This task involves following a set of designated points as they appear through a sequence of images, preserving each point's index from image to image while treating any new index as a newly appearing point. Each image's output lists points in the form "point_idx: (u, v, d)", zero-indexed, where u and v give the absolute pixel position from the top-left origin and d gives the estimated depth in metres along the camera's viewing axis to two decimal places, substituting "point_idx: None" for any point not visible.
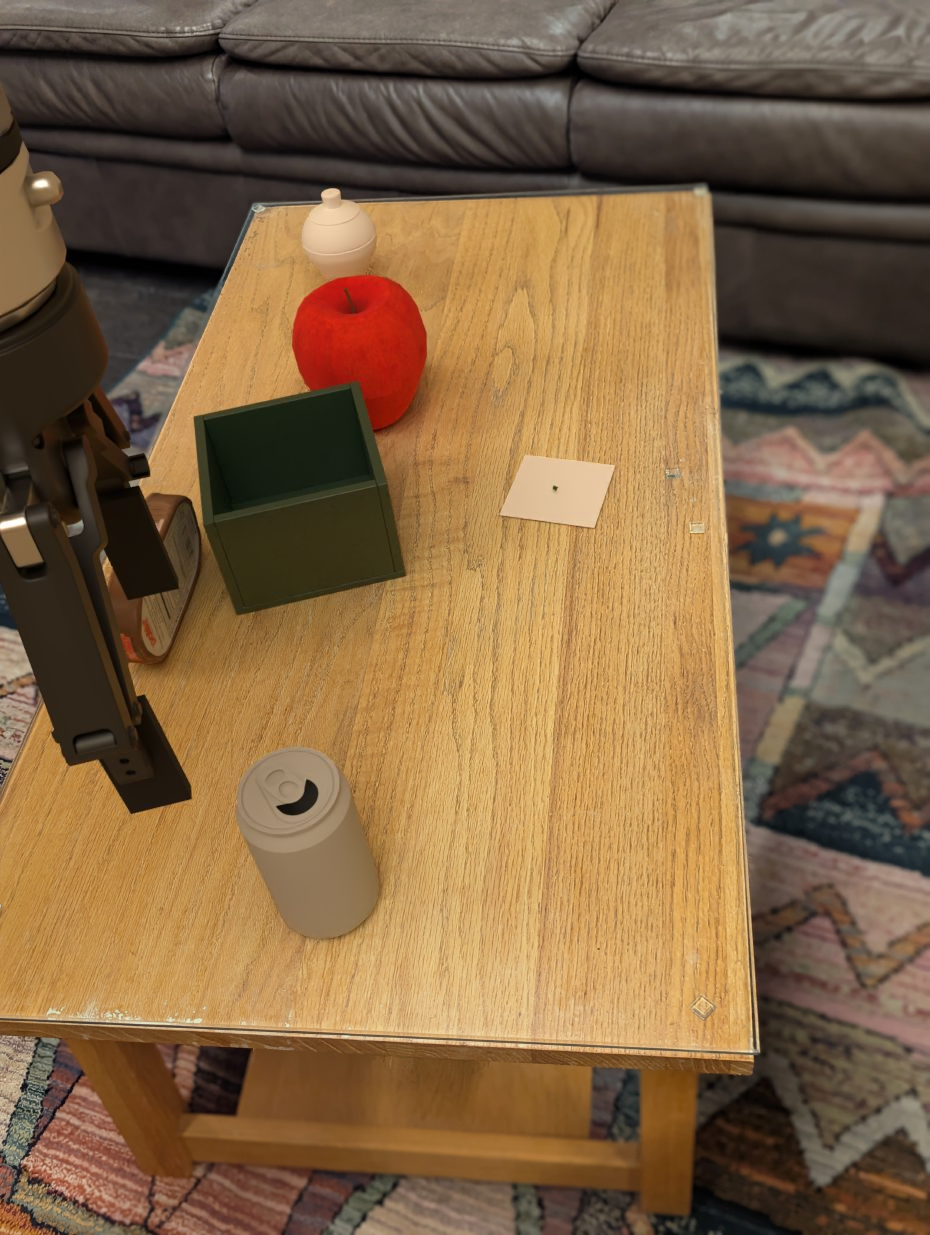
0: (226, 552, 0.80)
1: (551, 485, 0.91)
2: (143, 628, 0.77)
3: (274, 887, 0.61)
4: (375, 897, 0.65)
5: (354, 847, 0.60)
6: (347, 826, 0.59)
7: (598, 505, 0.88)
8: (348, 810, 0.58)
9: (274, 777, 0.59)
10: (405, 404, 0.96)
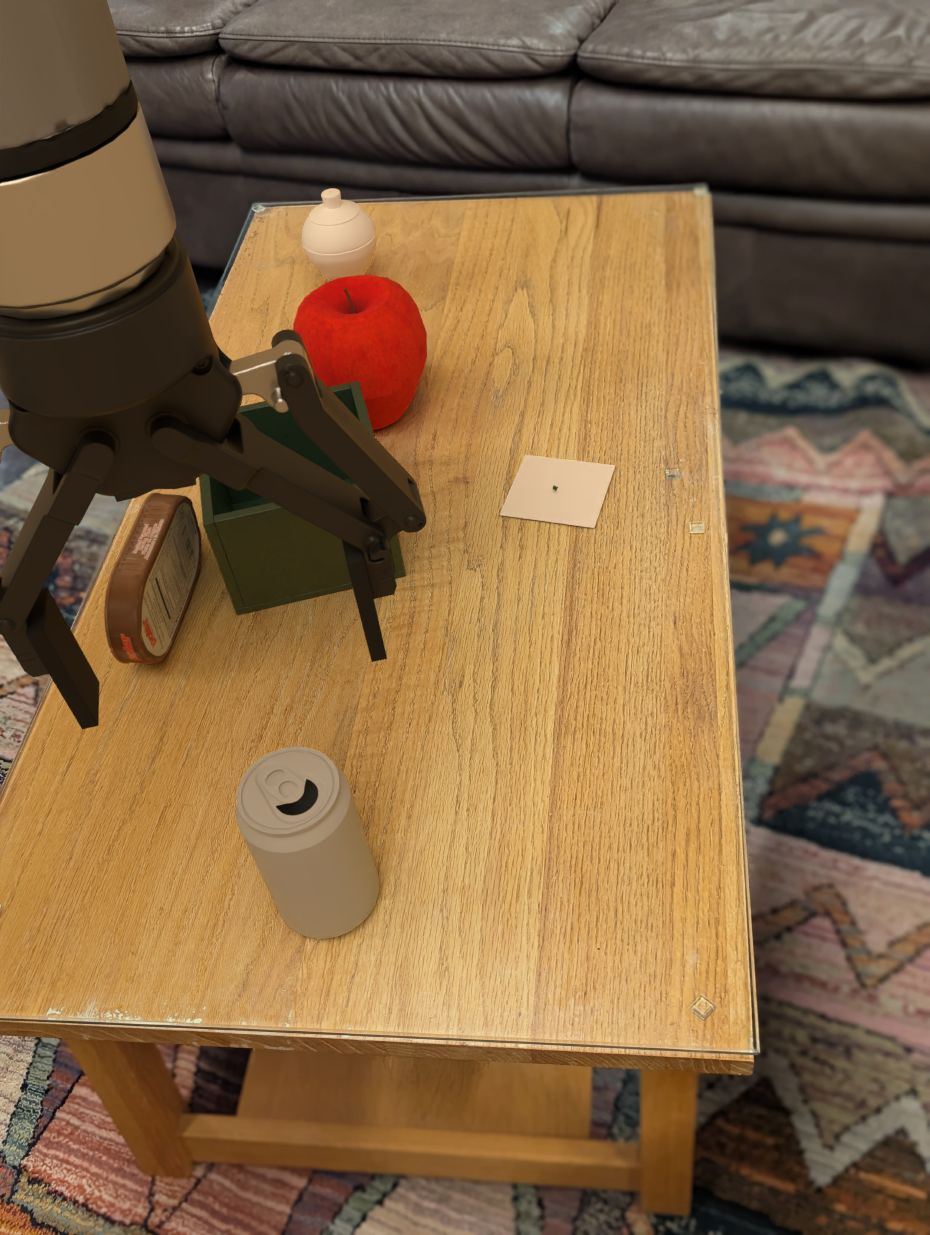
0: (226, 552, 0.80)
1: (551, 485, 0.91)
2: (143, 628, 0.77)
3: (274, 887, 0.61)
4: (375, 897, 0.65)
5: (354, 847, 0.60)
6: (347, 826, 0.59)
7: (598, 505, 0.88)
8: (348, 810, 0.58)
9: (274, 777, 0.59)
10: (405, 404, 0.96)
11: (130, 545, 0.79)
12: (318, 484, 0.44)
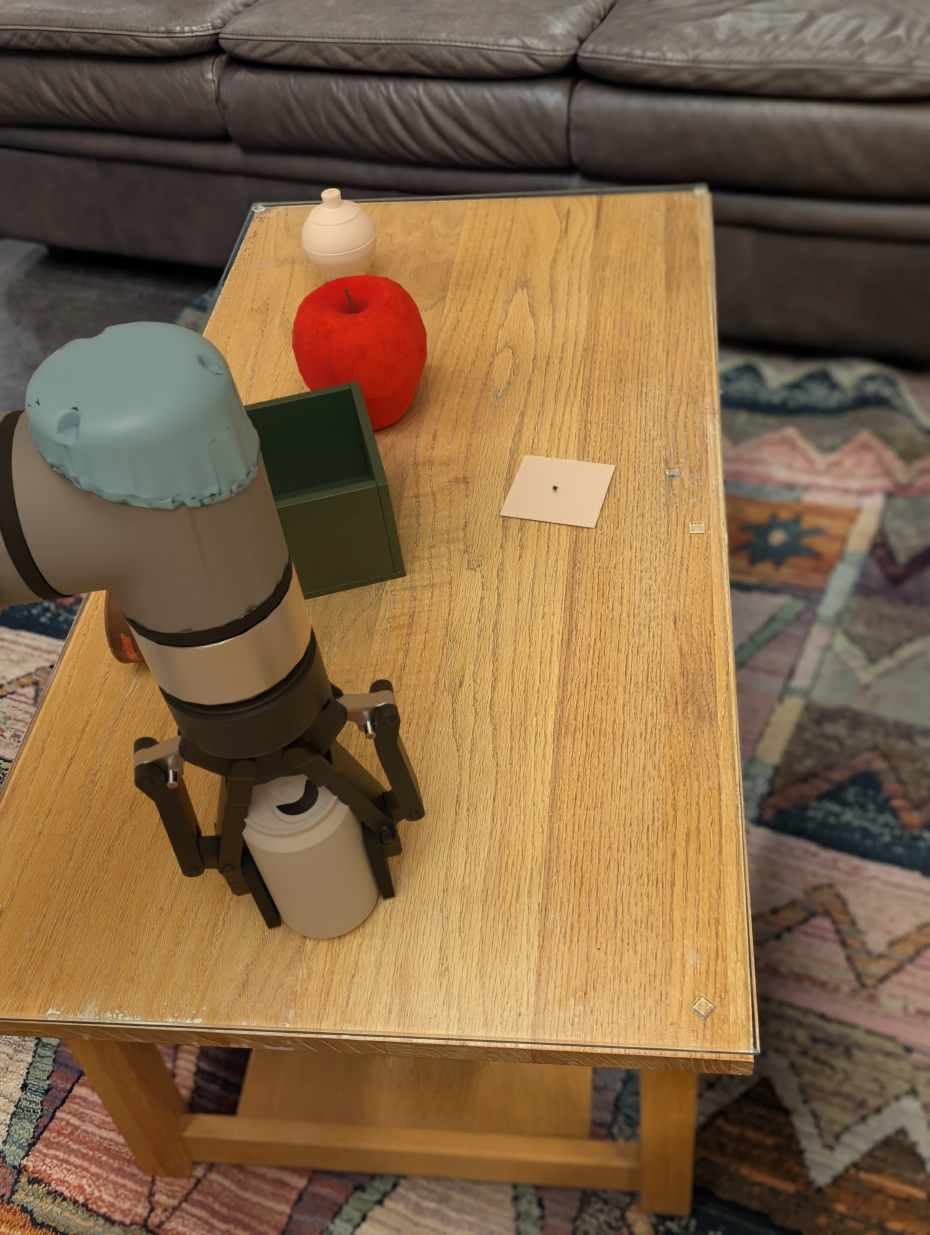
0: None
1: (551, 485, 0.91)
2: None
3: (274, 887, 0.61)
4: (375, 897, 0.65)
5: (354, 847, 0.60)
6: (347, 826, 0.59)
7: (598, 505, 0.88)
8: (348, 810, 0.58)
9: None
10: (405, 404, 0.96)
11: None
12: (364, 784, 0.59)
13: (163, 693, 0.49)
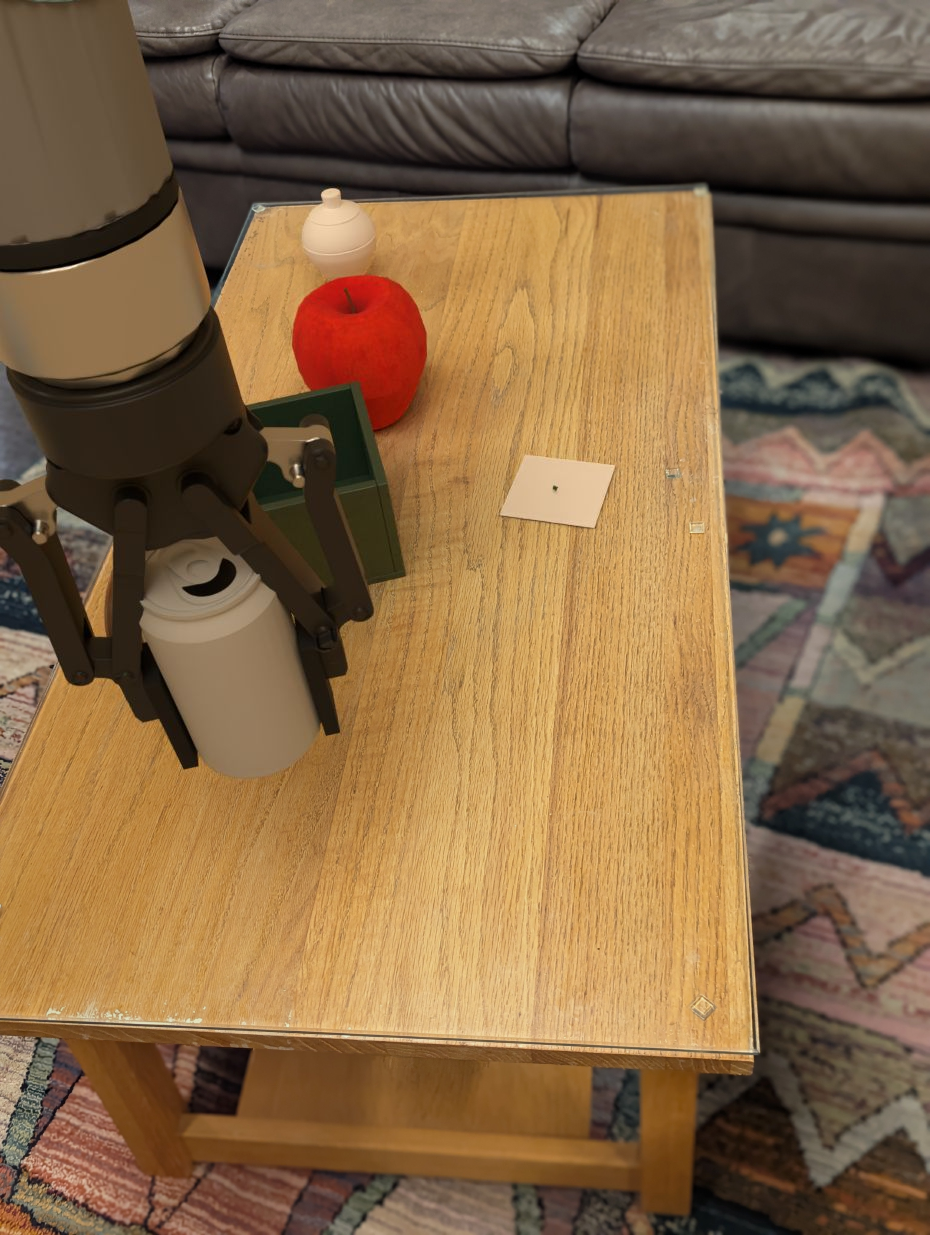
0: None
1: (551, 485, 0.91)
2: None
3: (184, 702, 0.48)
4: (315, 731, 0.53)
5: (285, 651, 0.48)
6: (274, 618, 0.46)
7: (598, 505, 0.88)
8: (274, 596, 0.46)
9: (182, 556, 0.47)
10: (405, 404, 0.96)
11: None
12: (296, 567, 0.47)
13: (12, 383, 0.37)
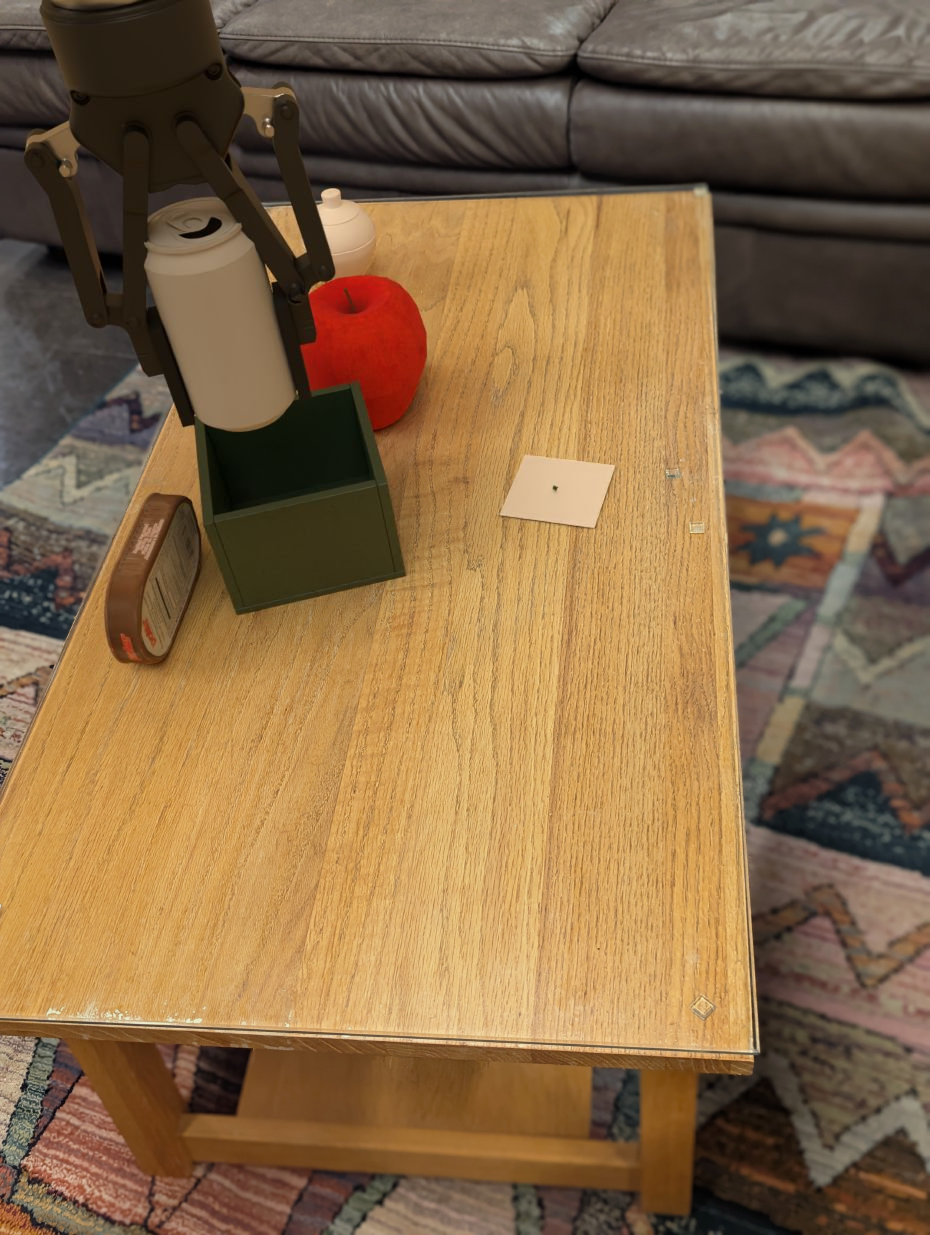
0: (226, 552, 0.80)
1: (551, 485, 0.91)
2: (143, 628, 0.77)
3: (181, 346, 0.59)
4: (291, 394, 0.64)
5: (262, 302, 0.59)
6: (253, 266, 0.57)
7: (598, 505, 0.88)
8: (253, 247, 0.57)
9: (179, 217, 0.58)
10: (405, 404, 0.96)
11: (130, 545, 0.79)
12: (271, 227, 0.58)
13: (44, 16, 0.48)
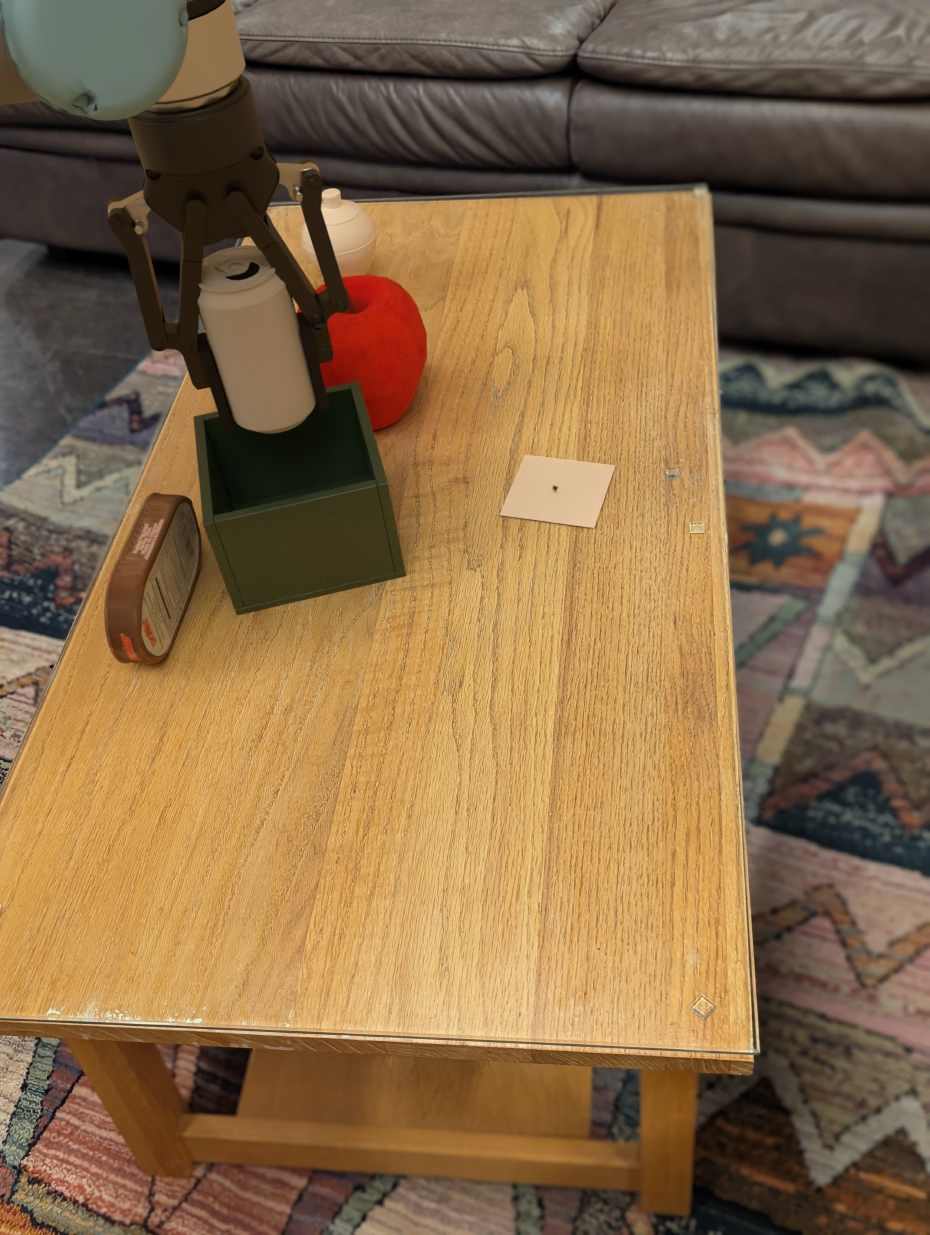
0: (226, 552, 0.80)
1: (551, 485, 0.91)
2: (143, 628, 0.77)
3: (225, 365, 0.74)
4: (312, 402, 0.78)
5: (291, 329, 0.74)
6: (284, 301, 0.72)
7: (598, 505, 0.88)
8: (284, 286, 0.72)
9: (224, 262, 0.72)
10: (405, 404, 0.96)
11: (130, 545, 0.79)
12: (298, 269, 0.72)
13: None
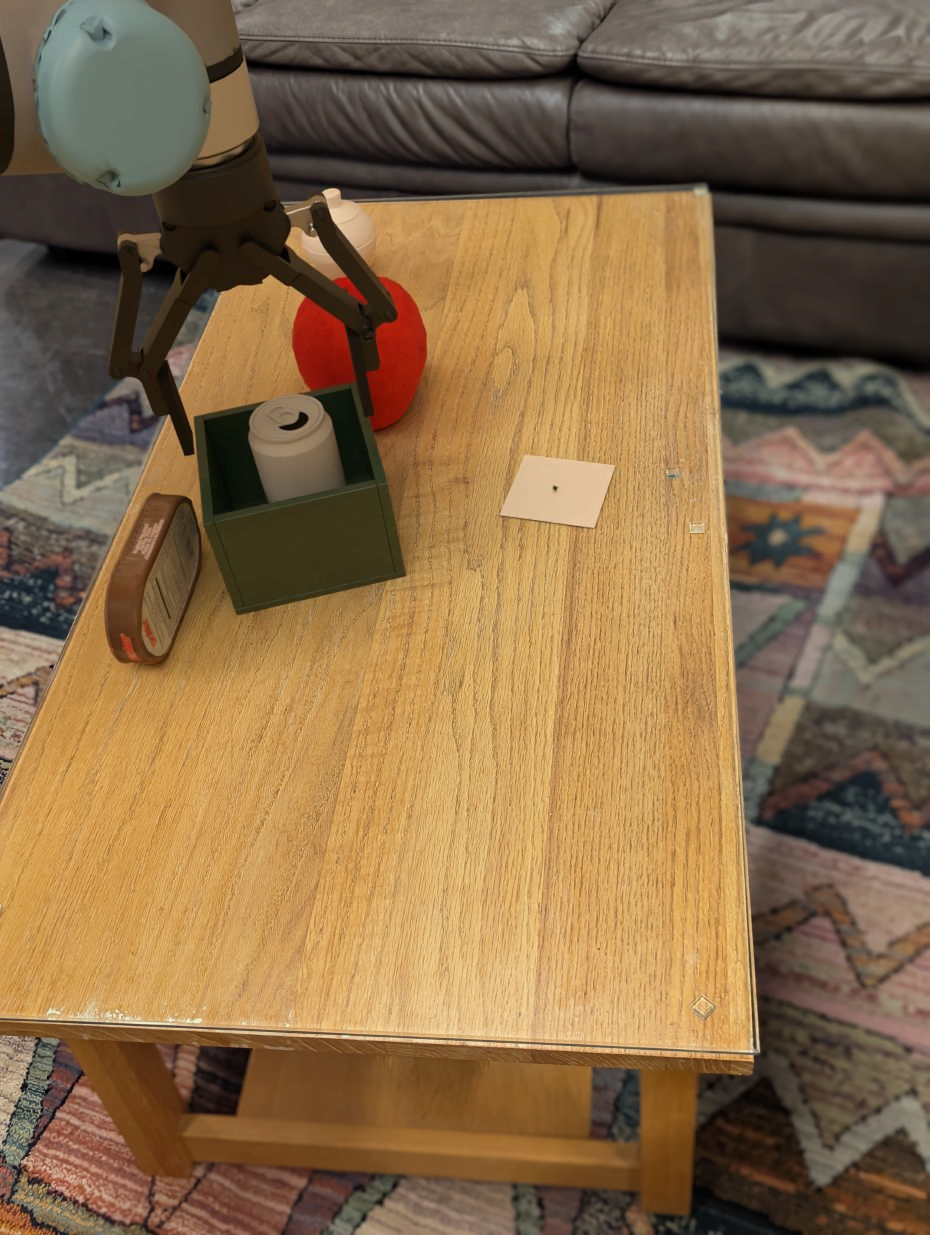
0: (226, 552, 0.80)
1: (551, 485, 0.91)
2: (143, 628, 0.77)
3: (277, 500, 0.83)
4: None
5: (335, 468, 0.82)
6: (330, 446, 0.81)
7: (598, 505, 0.88)
8: (330, 432, 0.81)
9: (276, 411, 0.81)
10: (405, 404, 0.96)
11: (130, 545, 0.79)
12: (333, 289, 0.74)
13: None
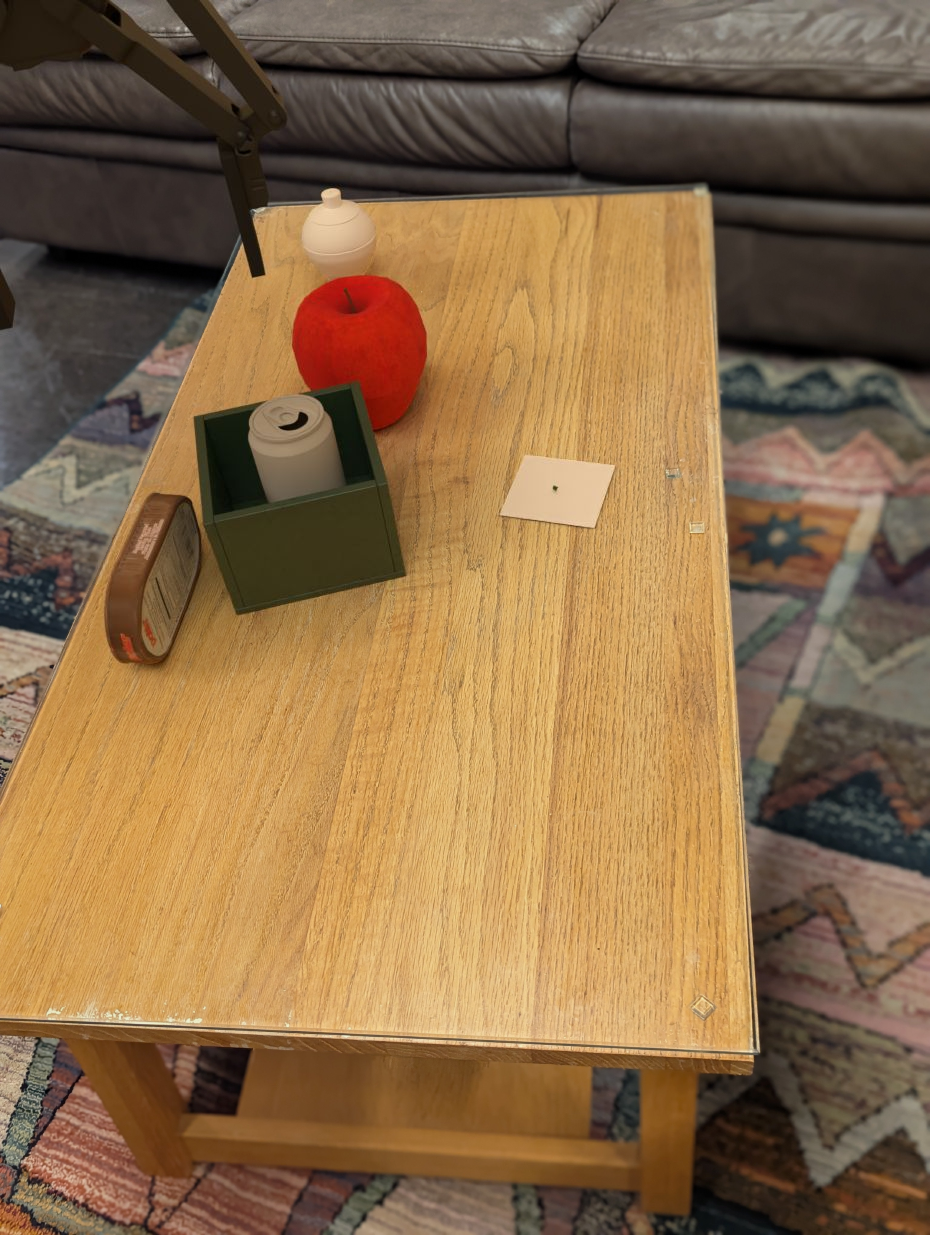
0: (226, 552, 0.80)
1: (551, 485, 0.91)
2: (143, 628, 0.77)
3: (276, 500, 0.83)
4: None
5: (335, 468, 0.82)
6: (329, 446, 0.81)
7: (598, 505, 0.88)
8: (330, 432, 0.81)
9: (276, 411, 0.81)
10: (405, 404, 0.96)
11: (130, 545, 0.79)
12: (191, 77, 0.51)
13: None
